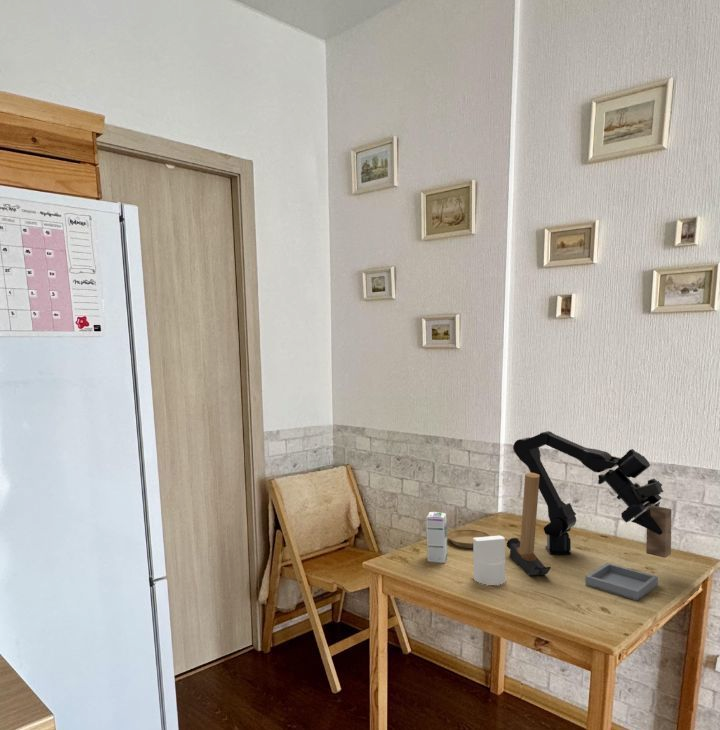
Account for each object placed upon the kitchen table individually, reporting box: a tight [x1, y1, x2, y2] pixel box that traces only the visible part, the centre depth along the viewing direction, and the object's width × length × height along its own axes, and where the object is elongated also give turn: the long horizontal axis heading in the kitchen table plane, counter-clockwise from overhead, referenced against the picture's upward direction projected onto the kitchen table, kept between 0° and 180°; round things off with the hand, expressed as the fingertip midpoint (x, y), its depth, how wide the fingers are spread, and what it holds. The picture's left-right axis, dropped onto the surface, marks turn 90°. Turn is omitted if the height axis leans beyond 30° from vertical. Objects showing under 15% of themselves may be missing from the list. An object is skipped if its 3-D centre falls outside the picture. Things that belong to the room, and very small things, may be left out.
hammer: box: [506, 472, 552, 576], centre depth 164 cm, size 20×5×30 cm, turn 7°
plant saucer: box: [447, 528, 491, 549], centre depth 189 cm, size 15×15×3 cm
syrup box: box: [425, 511, 448, 564], centre depth 173 cm, size 6×6×14 cm
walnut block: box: [645, 506, 672, 559], centre depth 157 cm, size 5×5×13 cm
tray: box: [584, 562, 659, 602], centre depth 152 cm, size 14×14×2 cm
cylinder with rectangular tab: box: [472, 535, 506, 586], centre depth 158 cm, size 9×9×12 cm
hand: (664, 531), depth 156 cm, fingers closed on walnut block, 5 cm apart
